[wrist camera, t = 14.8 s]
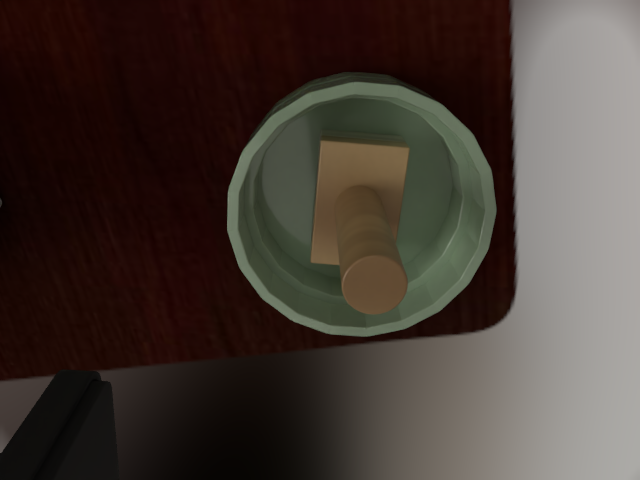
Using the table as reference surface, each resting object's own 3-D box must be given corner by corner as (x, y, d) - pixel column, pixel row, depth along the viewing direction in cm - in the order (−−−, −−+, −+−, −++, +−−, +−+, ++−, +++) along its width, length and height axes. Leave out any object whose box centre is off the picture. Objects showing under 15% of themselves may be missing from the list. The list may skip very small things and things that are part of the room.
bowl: (245, 61, 26) (230, 71, 22) (486, 81, 27) (521, 95, 22) (238, 280, 31) (224, 327, 26) (446, 295, 31) (468, 344, 26)
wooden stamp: (320, 128, 27) (322, 194, 17) (402, 135, 27) (450, 204, 17) (310, 242, 29) (307, 359, 19) (386, 248, 29) (421, 366, 19)
